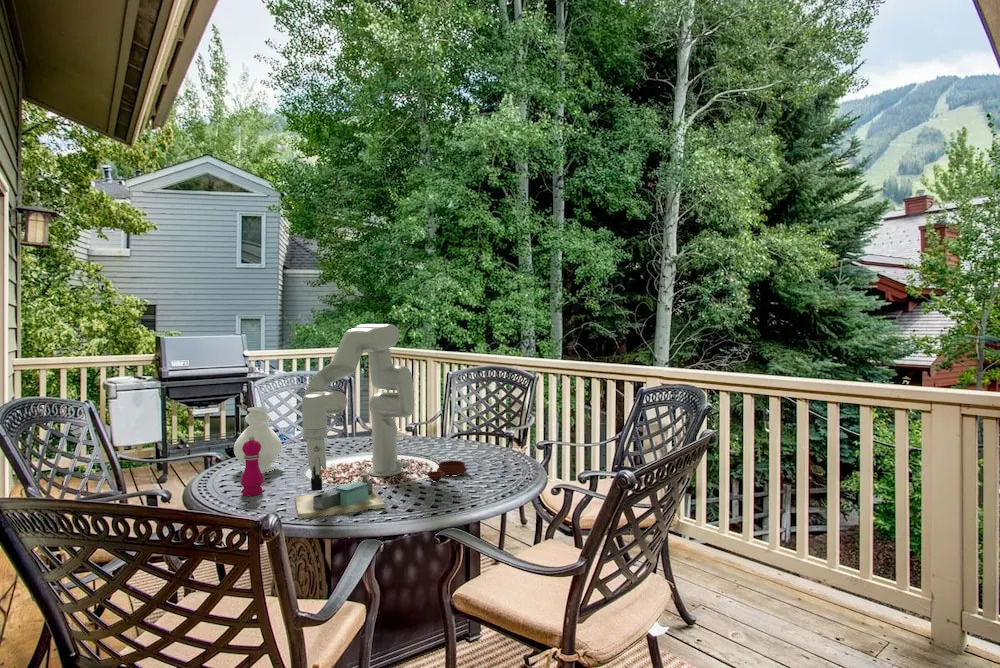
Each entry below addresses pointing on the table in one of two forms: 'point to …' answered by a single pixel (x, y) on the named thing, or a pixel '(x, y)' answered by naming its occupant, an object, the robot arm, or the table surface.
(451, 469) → the pottery
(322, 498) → the link
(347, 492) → the block
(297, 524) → the table surface
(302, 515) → the base board
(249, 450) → the pepper mill
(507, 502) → the table surface
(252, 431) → the decorative vase
